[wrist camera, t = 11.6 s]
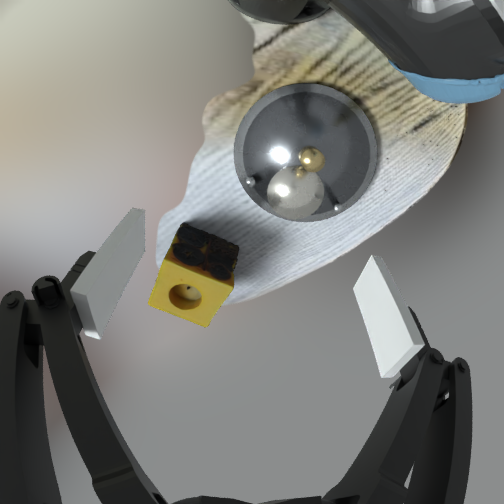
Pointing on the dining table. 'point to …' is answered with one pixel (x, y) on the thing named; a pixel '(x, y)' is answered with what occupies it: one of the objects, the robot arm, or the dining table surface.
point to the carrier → (305, 152)
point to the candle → (195, 275)
